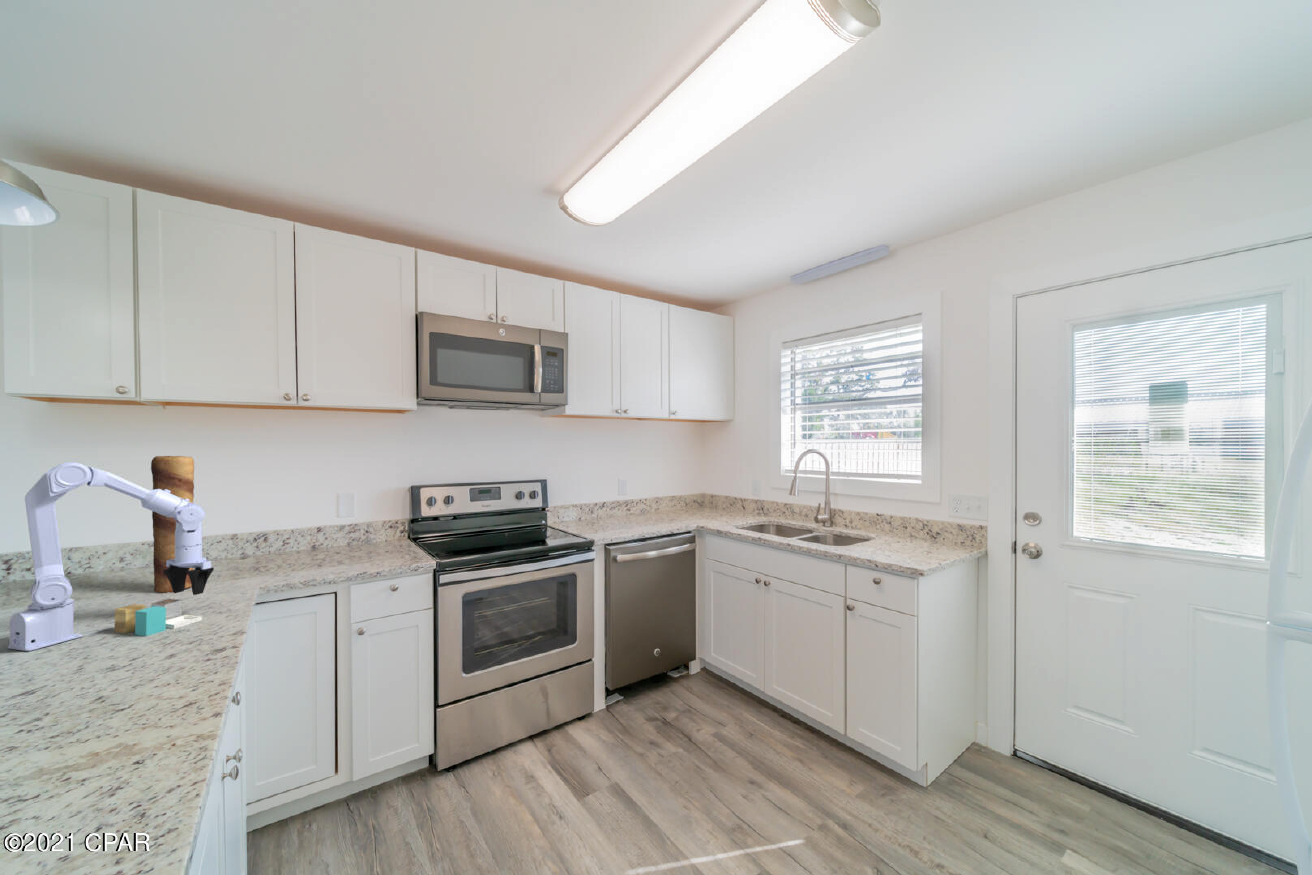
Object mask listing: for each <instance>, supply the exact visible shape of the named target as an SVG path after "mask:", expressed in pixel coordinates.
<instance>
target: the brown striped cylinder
mask: <svg viewBox="0 0 1312 875" xmlns="http://www.w3.org/2000/svg"><path fill="white" fill-rule="evenodd" d="M150 471H151V474H152V475H151V476H152V490H155V489H161V490H163V491H164V489H167V490H169V491H171V492H170V494H173V495H175V496H177V497H180V498H182V499H185V498H186V499H189V502H191V503H193V504H194V498H195V497H194V496H195V495H194V494H195V492H194V490H195V483H194V480H195V479H194V478H195V474H194V472H195V461H194V457H192V456H184V455H183V456H182V455H175V456H174V455H173V456H172V455H163V456H162V455H156V456H154V457H153V458H152V460H151V462H150ZM151 513H152V514H151V518H152V536H153V559H152V561H153V563H152V564H153V576H154V578H153V584H154V586H153V587H154V588H153V592H154V593H156V592H158V593H159V594H167V592H170V593H174V592H173V590H172V587H171V584H170V581H169V579H168V578H167V576H166V575H165V574H164V573H163V570H165V569H169V568H170V567H166V560H171V559H175V530H176V522H179V521H176V520H175V519H174V518H173V517H166V516H164V515H161V514H159V513H156V512H154V511H152V512H151ZM190 570H194V568H189V570H188V571H190ZM189 588H192V585H191V580H190V578H189V576H188V574H187V576H186V581H185V589H184V590H187V589H189Z"/></svg>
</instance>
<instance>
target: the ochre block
mask: <svg viewBox="0 0 1312 875" xmlns="http://www.w3.org/2000/svg"><path fill="white" fill-rule="evenodd" d="M142 609H146V605H145V604H136V603H135V604H131V605H126V606H122V607H119V608H115V609H114V633H115V634H124V633H126V634H129V633H134V632H135V611H138V610H142Z"/></svg>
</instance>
